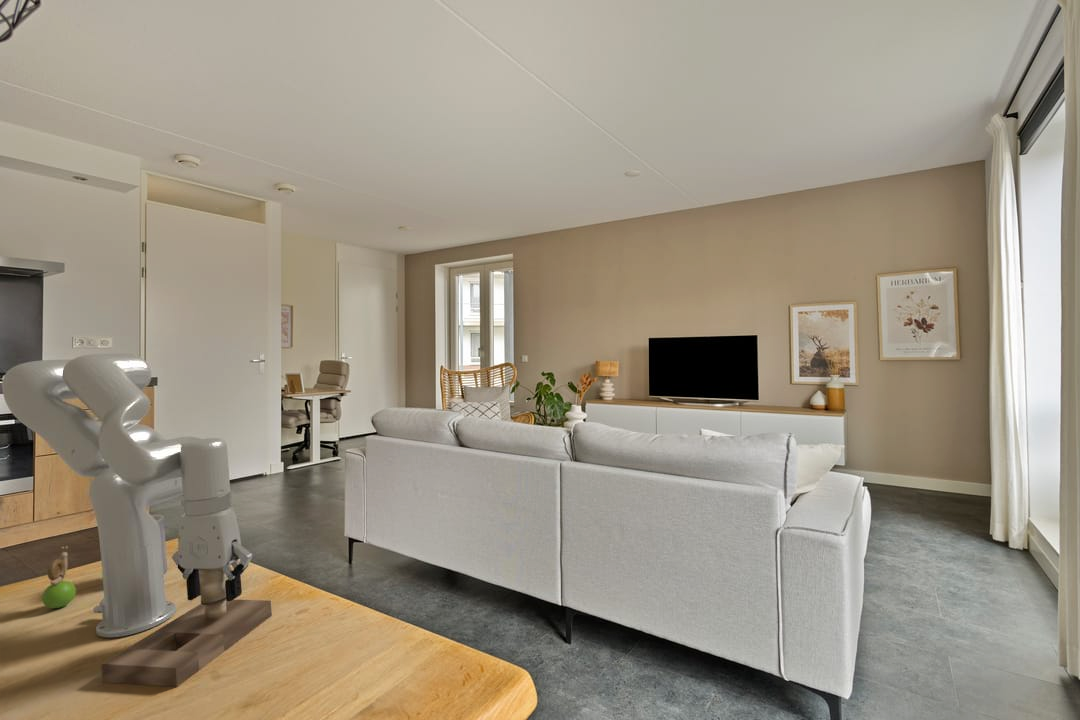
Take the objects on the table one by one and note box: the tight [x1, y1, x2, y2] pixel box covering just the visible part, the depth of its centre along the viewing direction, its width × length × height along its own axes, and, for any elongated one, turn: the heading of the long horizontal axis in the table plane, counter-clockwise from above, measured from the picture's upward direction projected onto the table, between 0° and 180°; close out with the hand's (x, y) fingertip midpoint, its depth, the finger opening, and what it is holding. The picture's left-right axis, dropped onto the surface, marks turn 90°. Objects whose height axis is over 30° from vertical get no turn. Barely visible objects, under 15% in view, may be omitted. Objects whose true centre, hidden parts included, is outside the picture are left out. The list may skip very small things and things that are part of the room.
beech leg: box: [199, 569, 228, 620], centre depth 100 cm, size 4×4×10 cm
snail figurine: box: [41, 546, 77, 609], centre depth 115 cm, size 5×6×12 cm
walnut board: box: [100, 599, 273, 688], centre depth 95 cm, size 14×22×3 cm, turn 170°
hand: (215, 596), depth 100 cm, fingers open, 7 cm apart
